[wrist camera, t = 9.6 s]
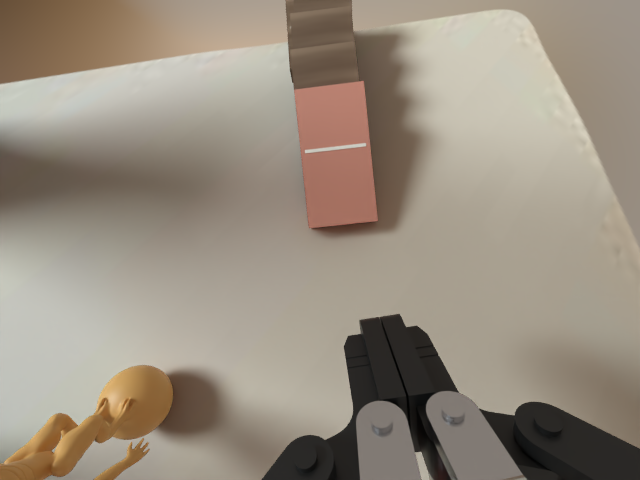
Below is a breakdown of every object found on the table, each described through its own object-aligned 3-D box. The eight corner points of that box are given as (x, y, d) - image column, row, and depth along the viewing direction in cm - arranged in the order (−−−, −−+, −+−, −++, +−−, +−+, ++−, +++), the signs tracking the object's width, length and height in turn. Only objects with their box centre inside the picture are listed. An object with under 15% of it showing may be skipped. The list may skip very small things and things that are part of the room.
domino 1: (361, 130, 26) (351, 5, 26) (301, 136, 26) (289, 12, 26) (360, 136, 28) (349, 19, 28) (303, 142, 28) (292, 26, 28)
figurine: (220, 366, 22) (86, 363, 11) (206, 474, 19) (18, 614, 8) (103, 364, 22) (-138, 359, 11) (77, 468, 20) (-258, 590, 9)
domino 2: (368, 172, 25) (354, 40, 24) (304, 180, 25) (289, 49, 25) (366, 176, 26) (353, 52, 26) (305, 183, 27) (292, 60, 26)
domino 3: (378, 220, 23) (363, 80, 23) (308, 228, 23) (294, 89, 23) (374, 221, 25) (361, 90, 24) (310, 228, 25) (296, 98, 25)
